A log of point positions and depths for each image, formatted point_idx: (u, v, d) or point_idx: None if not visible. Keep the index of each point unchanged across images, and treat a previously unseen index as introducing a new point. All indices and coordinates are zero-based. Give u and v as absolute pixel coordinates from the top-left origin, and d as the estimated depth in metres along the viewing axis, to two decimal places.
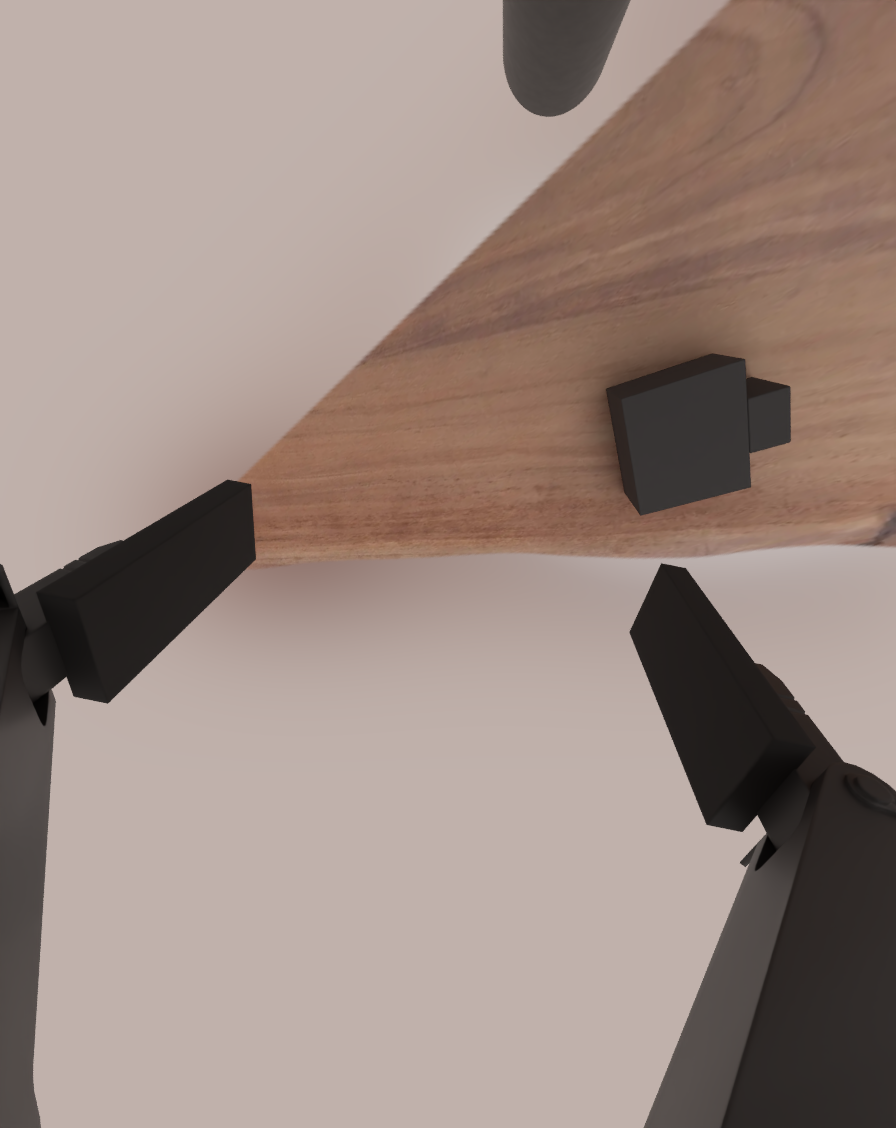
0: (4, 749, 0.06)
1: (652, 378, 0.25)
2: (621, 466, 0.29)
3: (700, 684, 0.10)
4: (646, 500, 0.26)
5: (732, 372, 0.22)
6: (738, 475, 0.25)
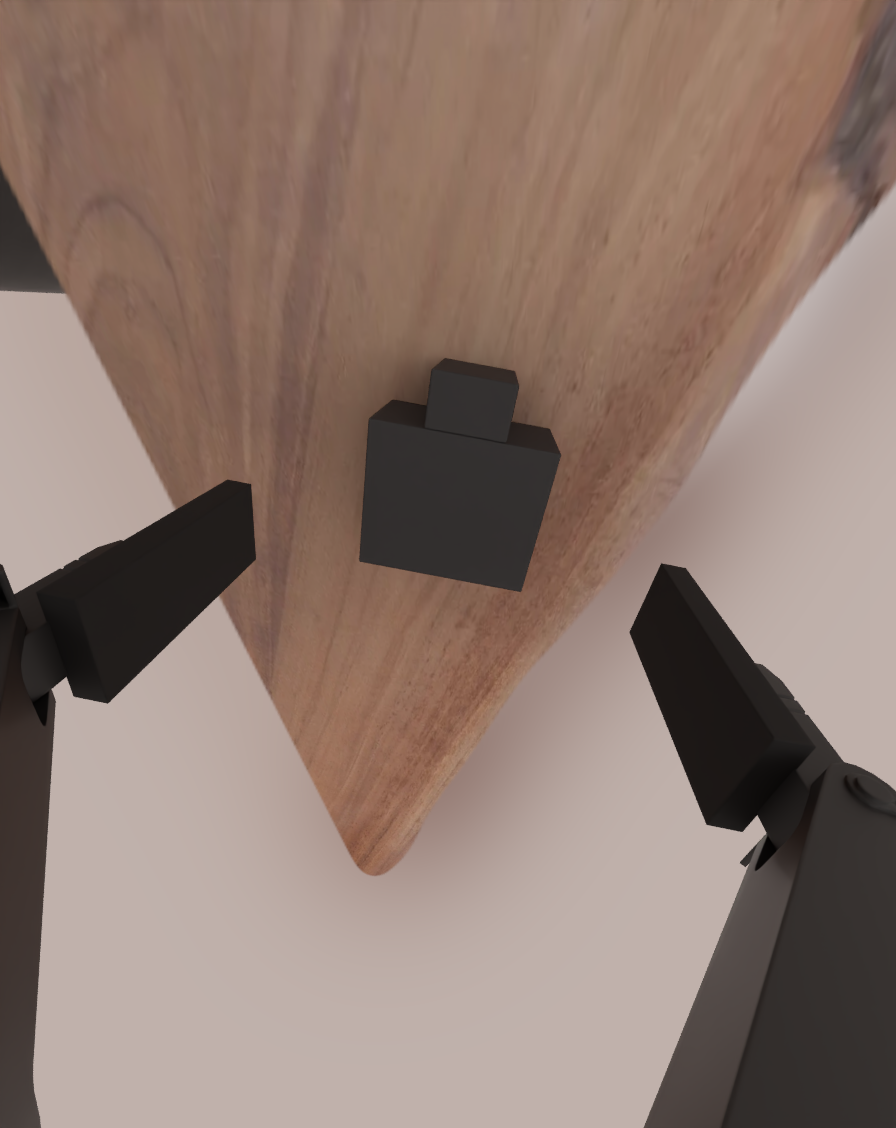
0: (4, 749, 0.06)
1: None
2: None
3: (700, 684, 0.10)
4: (503, 579, 0.19)
5: (379, 438, 0.16)
6: (532, 465, 0.16)
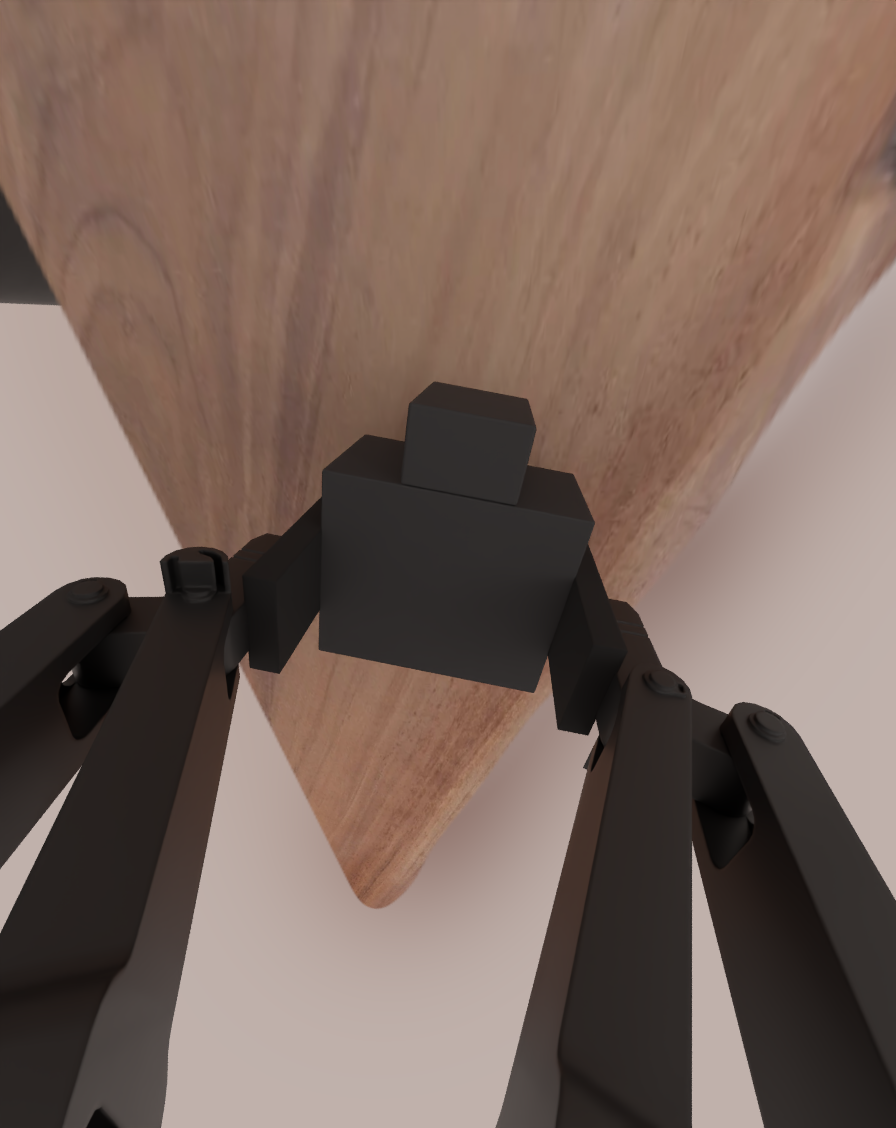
0: (202, 721, 0.07)
1: None
2: None
3: (566, 616, 0.12)
4: (510, 677, 0.14)
5: (338, 496, 0.11)
6: (554, 537, 0.11)
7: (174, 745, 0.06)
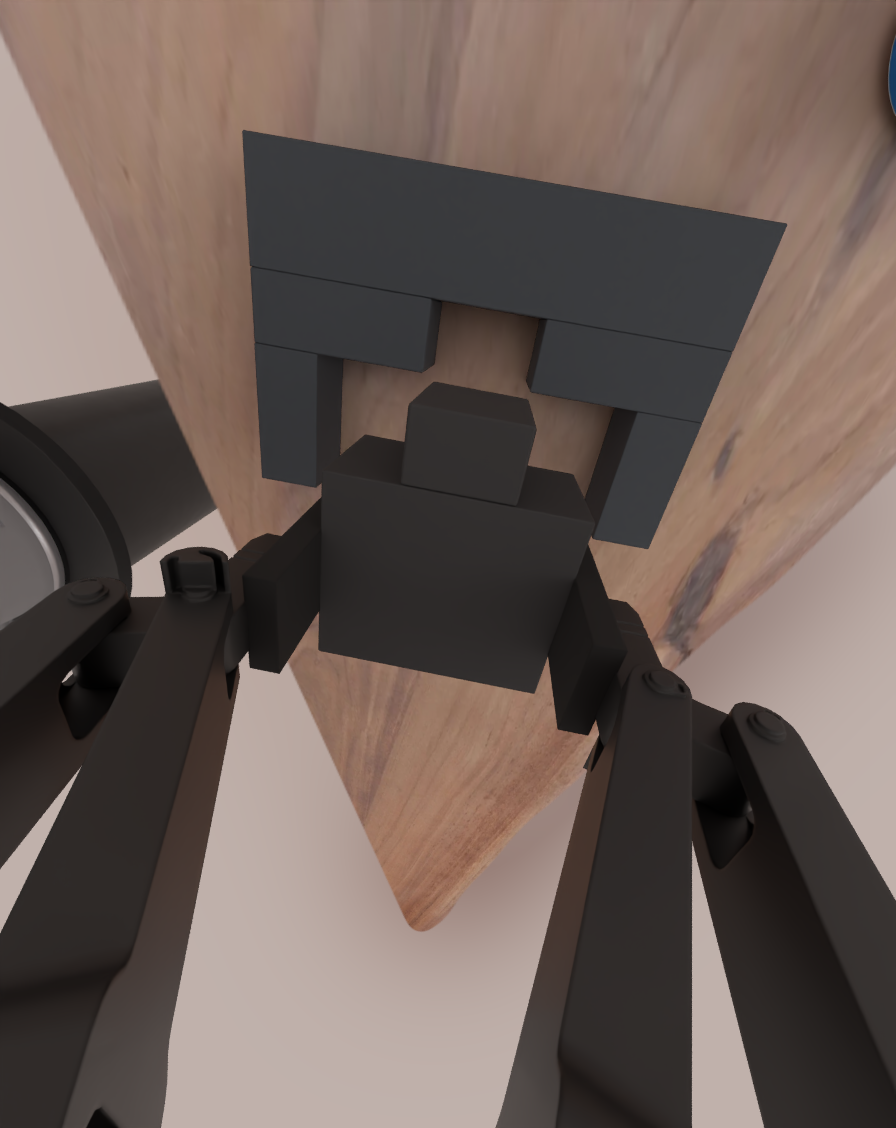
0: (202, 721, 0.07)
1: None
2: None
3: (566, 616, 0.12)
4: (510, 678, 0.14)
5: (337, 496, 0.11)
6: (554, 537, 0.11)
7: (174, 745, 0.06)
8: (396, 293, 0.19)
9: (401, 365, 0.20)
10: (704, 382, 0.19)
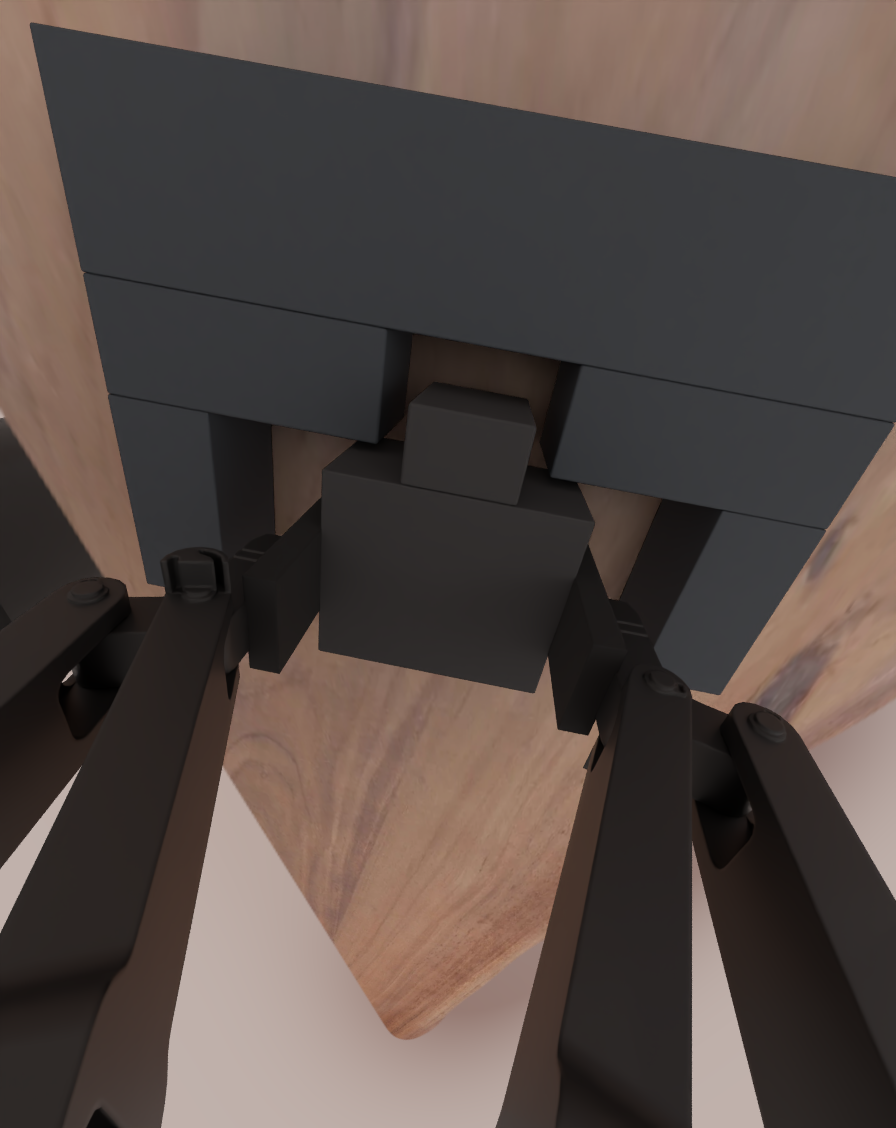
0: (202, 721, 0.07)
1: None
2: None
3: (566, 616, 0.12)
4: (510, 678, 0.14)
5: (337, 496, 0.11)
6: (554, 537, 0.11)
7: (174, 746, 0.06)
8: (328, 319, 0.11)
9: (342, 433, 0.13)
10: (839, 470, 0.12)
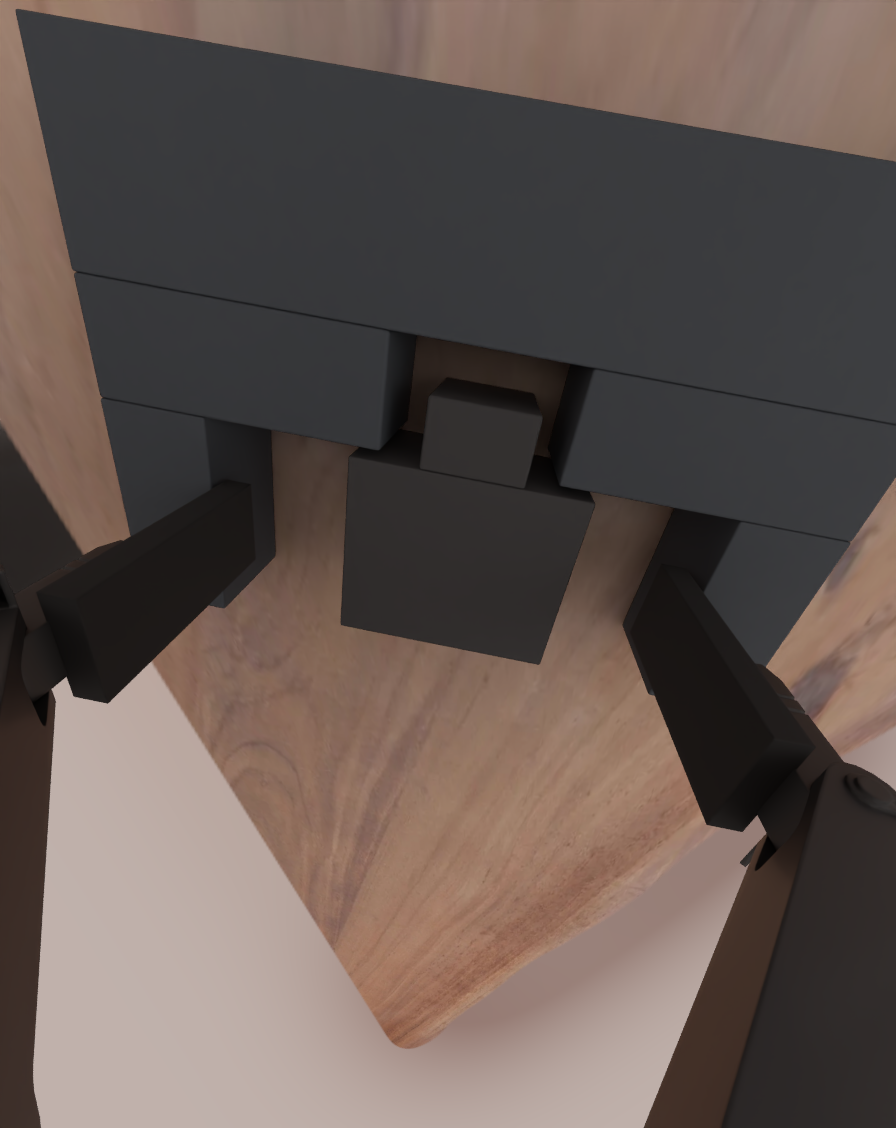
0: (4, 749, 0.06)
1: None
2: None
3: (700, 684, 0.10)
4: (517, 650, 0.15)
5: (362, 480, 0.13)
6: (558, 517, 0.13)
7: None
8: (328, 321, 0.11)
9: (343, 439, 0.12)
10: (866, 479, 0.11)
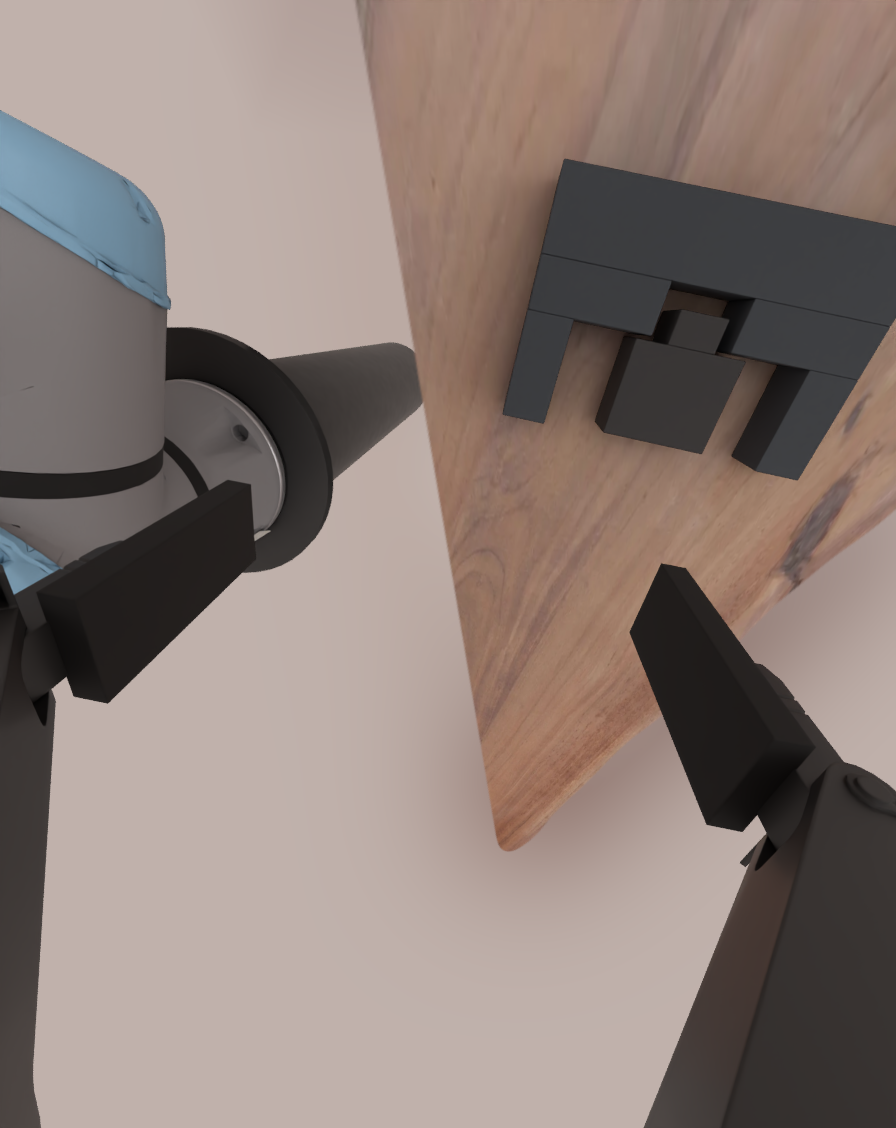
0: (4, 749, 0.06)
1: (608, 393, 0.32)
2: None
3: (700, 684, 0.10)
4: (692, 444, 0.31)
5: (639, 350, 0.28)
6: (727, 368, 0.28)
7: None
8: (647, 276, 0.27)
9: (636, 329, 0.28)
10: (865, 349, 0.27)
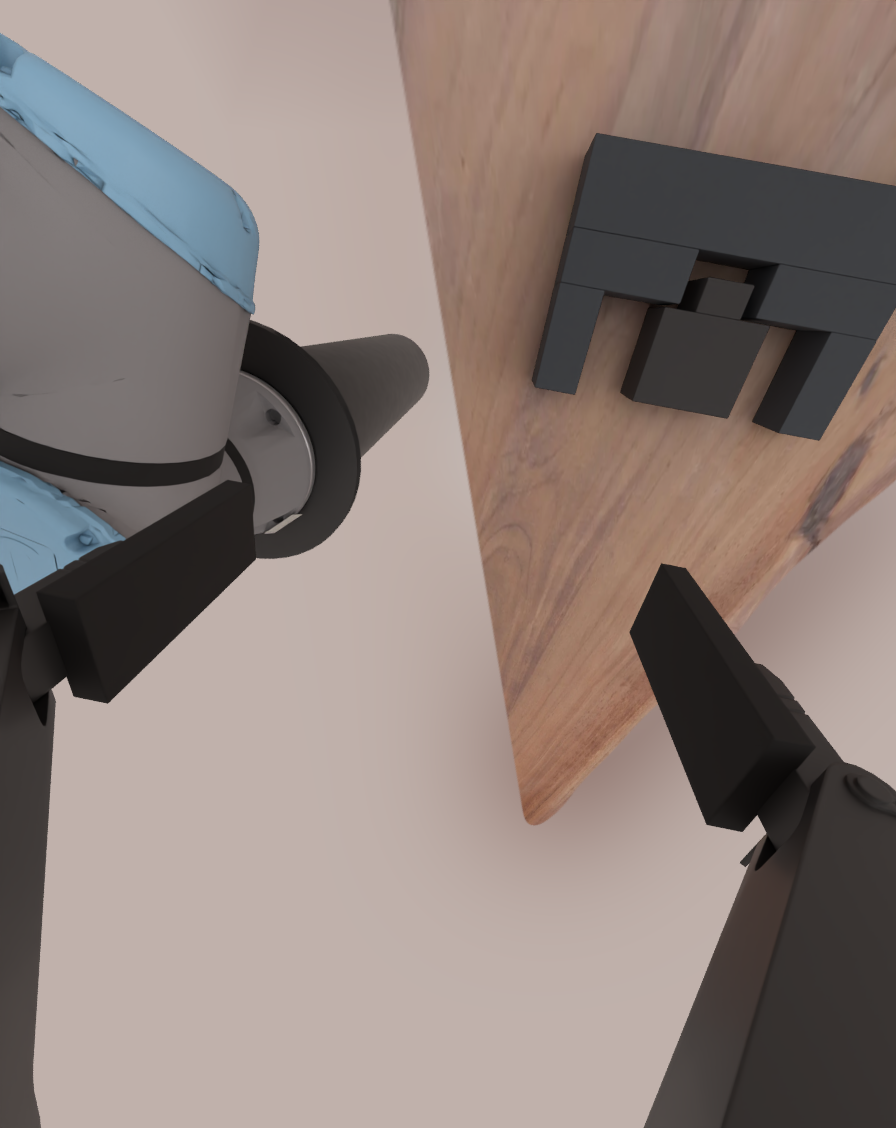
0: (4, 749, 0.06)
1: (634, 363, 0.33)
2: None
3: (700, 684, 0.10)
4: (718, 409, 0.32)
5: (668, 318, 0.30)
6: (752, 333, 0.30)
7: None
8: (675, 245, 0.28)
9: (665, 298, 0.29)
10: (884, 309, 0.28)
